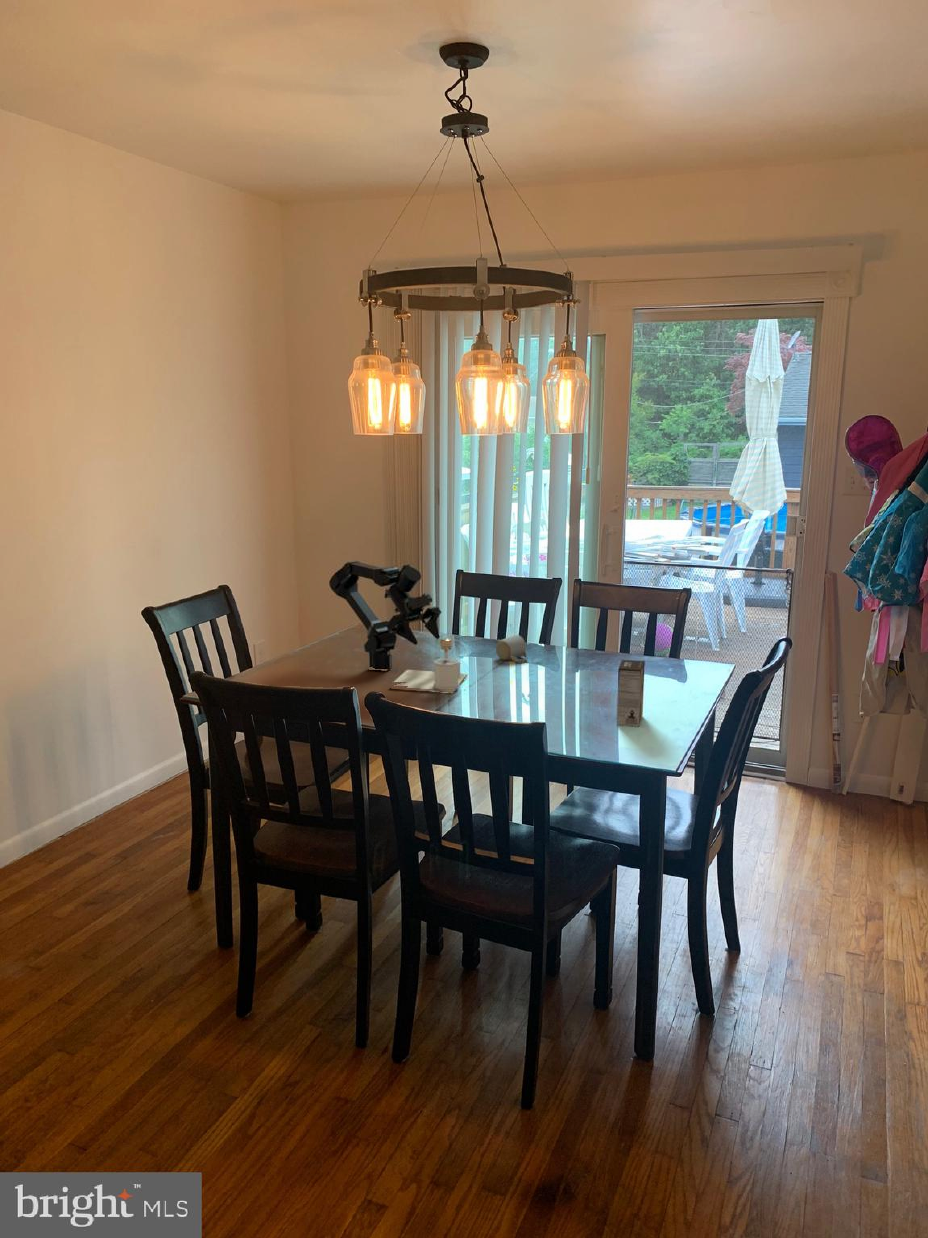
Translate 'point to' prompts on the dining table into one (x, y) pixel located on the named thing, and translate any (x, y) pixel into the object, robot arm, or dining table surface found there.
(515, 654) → the ceramic mug
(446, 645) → the plunger
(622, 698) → the coffee box
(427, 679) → the birch board
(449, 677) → the white faceted container
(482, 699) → the dining table surface
